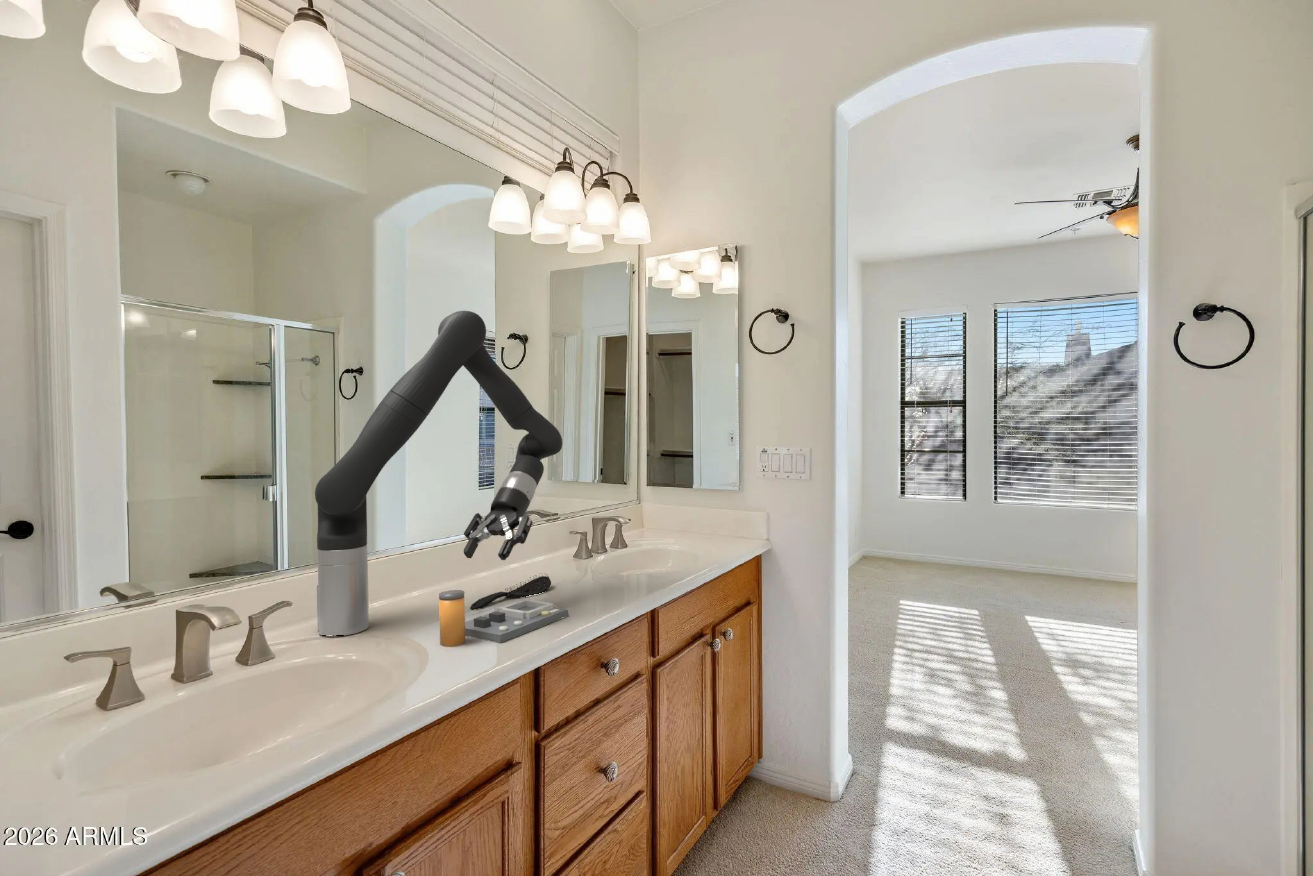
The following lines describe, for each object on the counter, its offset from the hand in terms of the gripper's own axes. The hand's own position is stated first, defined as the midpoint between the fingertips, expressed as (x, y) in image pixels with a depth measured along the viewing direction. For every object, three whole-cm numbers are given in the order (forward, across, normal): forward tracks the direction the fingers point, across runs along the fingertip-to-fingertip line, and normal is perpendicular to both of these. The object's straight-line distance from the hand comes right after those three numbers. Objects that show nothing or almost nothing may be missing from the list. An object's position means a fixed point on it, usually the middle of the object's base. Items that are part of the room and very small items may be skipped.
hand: (484, 557), depth 128 cm
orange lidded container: (+17, 0, +3) cm, 18 cm away
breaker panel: (+8, +4, +12) cm, 15 cm away
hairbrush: (-5, -9, +27) cm, 29 cm away
